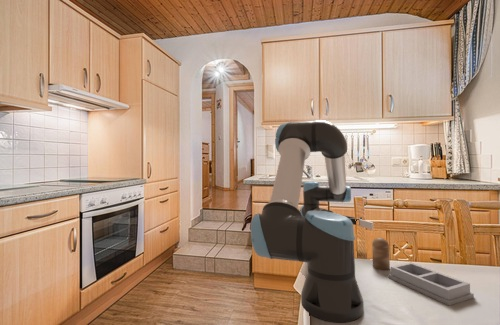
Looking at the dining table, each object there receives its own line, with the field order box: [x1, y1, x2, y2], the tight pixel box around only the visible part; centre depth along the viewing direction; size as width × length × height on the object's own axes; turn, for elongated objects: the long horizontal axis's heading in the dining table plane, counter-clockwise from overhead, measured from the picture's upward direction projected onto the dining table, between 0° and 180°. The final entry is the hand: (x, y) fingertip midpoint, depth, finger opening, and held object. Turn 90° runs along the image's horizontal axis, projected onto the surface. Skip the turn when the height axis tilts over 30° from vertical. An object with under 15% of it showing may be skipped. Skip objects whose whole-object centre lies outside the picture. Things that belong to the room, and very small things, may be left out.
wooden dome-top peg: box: [371, 237, 391, 271], centre depth 90 cm, size 5×5×10 cm
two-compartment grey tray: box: [388, 262, 475, 306], centre depth 75 cm, size 18×10×4 cm, turn 21°
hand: (359, 228), depth 99 cm, fingers open, 13 cm apart
